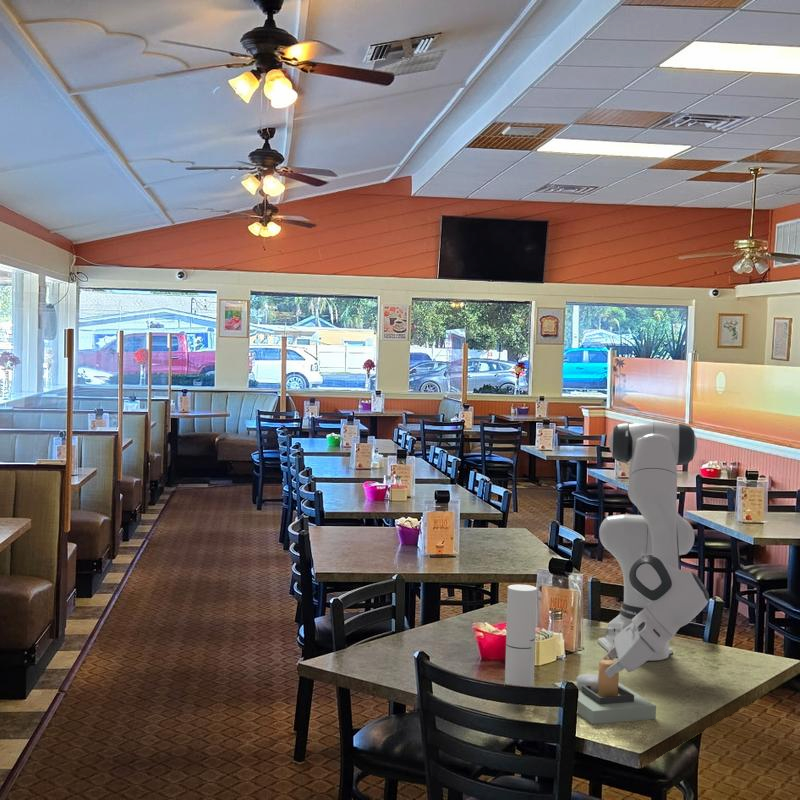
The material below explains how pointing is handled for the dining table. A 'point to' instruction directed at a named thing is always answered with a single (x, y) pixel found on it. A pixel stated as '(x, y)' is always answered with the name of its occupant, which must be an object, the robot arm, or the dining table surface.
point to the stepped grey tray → (610, 703)
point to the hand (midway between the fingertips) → (605, 668)
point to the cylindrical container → (520, 635)
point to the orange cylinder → (607, 680)
